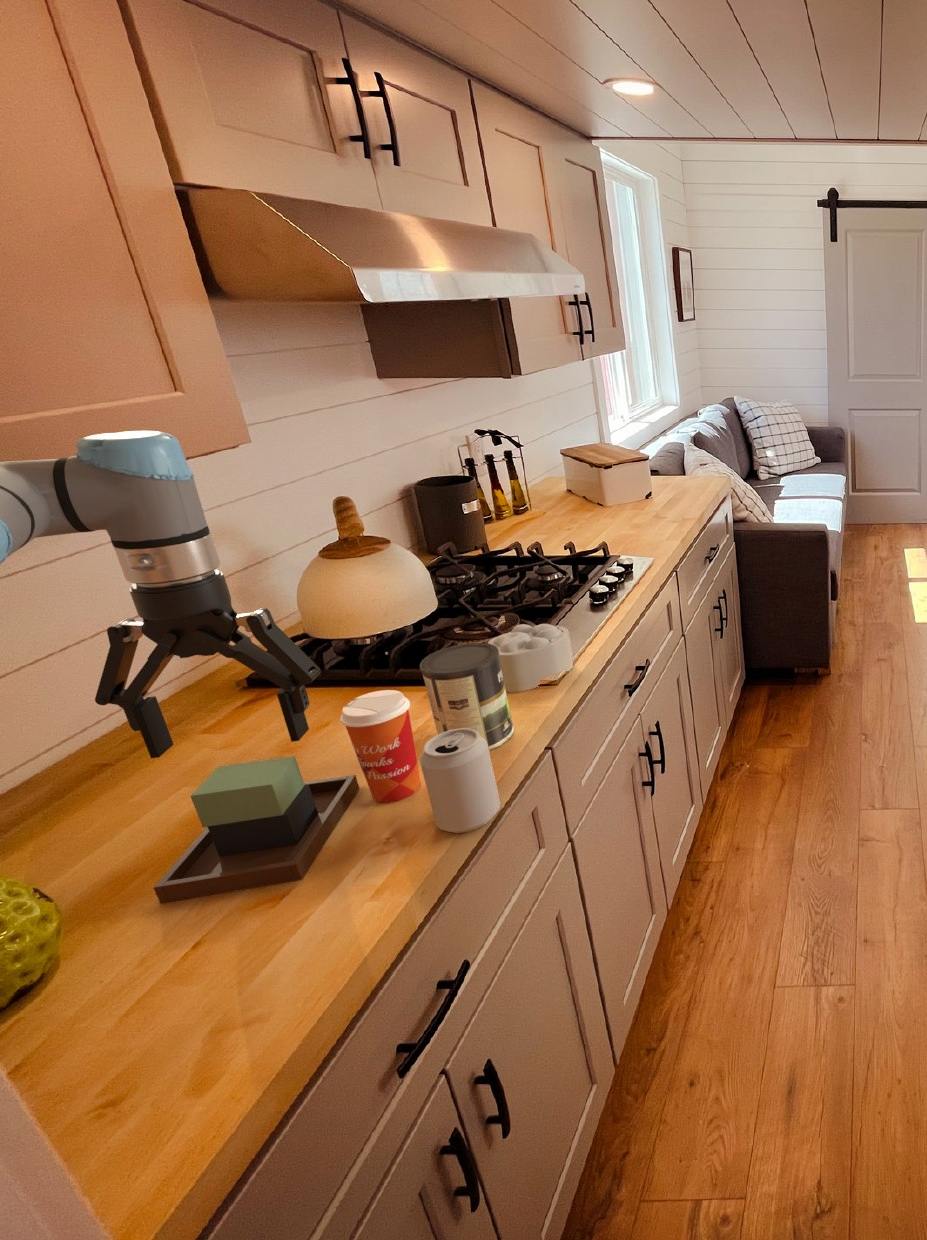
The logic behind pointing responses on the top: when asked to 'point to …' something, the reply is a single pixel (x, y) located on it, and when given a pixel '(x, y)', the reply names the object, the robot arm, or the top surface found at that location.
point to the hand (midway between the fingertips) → (233, 743)
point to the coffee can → (468, 691)
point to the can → (460, 780)
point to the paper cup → (384, 743)
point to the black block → (266, 828)
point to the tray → (257, 852)
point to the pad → (248, 791)
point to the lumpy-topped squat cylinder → (532, 655)
